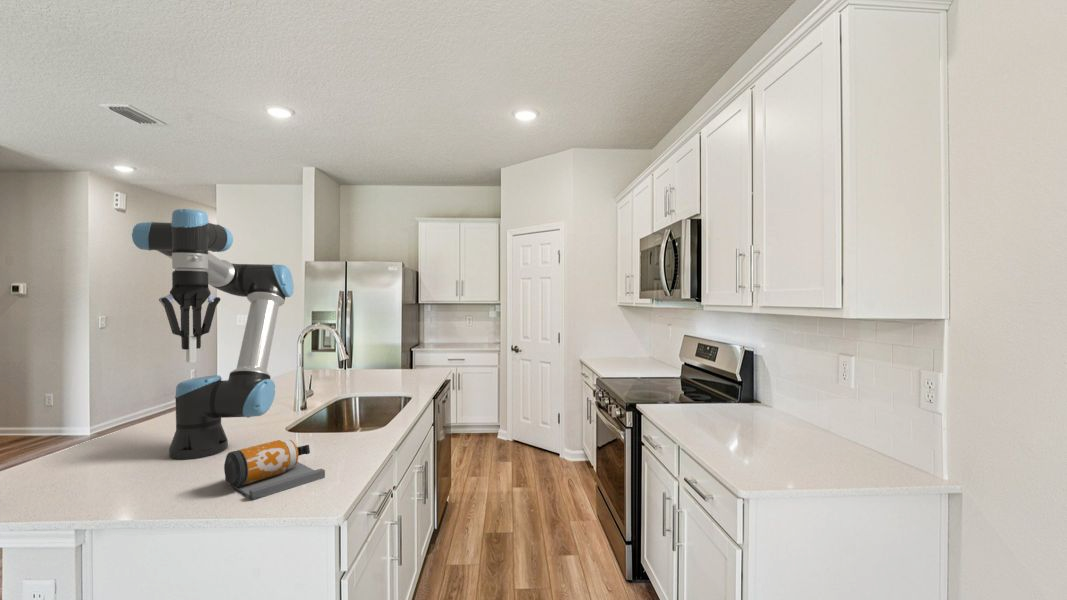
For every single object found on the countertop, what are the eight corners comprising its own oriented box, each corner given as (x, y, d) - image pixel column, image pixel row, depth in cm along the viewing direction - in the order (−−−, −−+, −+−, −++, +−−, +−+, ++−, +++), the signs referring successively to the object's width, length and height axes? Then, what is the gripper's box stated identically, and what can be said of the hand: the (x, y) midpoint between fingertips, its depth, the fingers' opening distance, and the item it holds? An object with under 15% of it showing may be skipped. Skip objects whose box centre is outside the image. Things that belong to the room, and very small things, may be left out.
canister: (235, 451, 117) (311, 431, 133) (216, 455, 123) (292, 436, 140) (239, 487, 116) (316, 463, 132) (221, 490, 122) (296, 466, 138)
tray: (225, 481, 125) (225, 473, 125) (294, 462, 139) (294, 455, 139) (252, 500, 113) (252, 492, 113) (324, 477, 127) (324, 470, 127)
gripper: (163, 269, 113) (164, 366, 113) (224, 271, 123) (225, 360, 124) (154, 269, 118) (155, 363, 118) (214, 271, 128) (215, 357, 128)
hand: (191, 361), depth 121 cm, fingers closed
